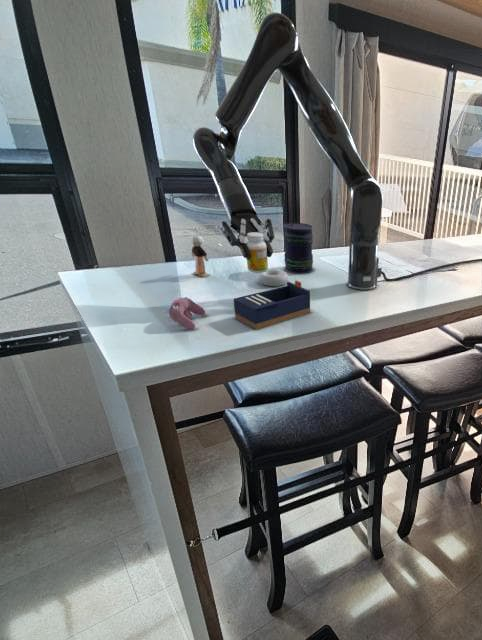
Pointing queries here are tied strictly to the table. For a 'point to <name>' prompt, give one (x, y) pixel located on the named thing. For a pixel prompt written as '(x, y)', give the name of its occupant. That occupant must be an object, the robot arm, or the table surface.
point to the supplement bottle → (257, 253)
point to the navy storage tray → (272, 305)
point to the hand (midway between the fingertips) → (259, 256)
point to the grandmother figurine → (199, 256)
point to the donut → (272, 277)
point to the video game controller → (185, 312)
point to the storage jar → (298, 247)
